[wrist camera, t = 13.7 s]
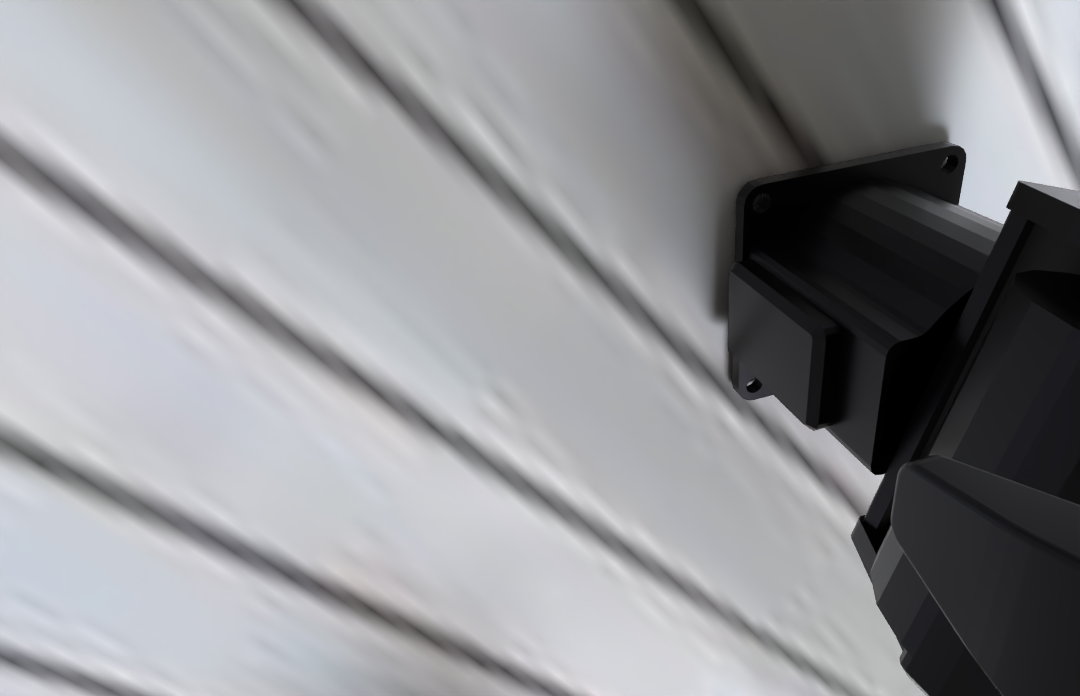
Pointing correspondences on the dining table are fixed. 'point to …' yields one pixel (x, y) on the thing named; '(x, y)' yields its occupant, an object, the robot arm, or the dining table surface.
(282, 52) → the dining table surface
